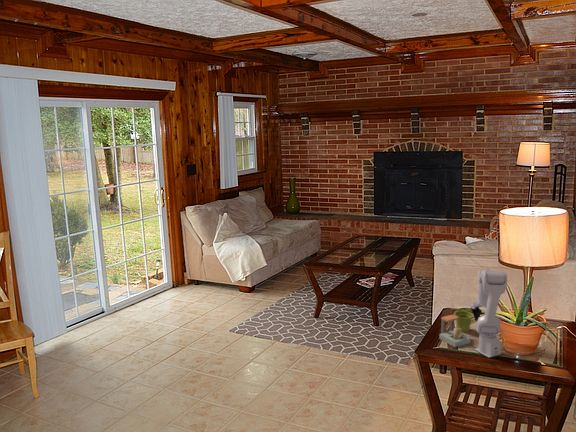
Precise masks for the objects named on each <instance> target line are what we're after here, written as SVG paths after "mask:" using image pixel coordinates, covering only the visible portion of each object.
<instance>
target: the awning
mask: <svg viewBox="0 0 576 432" xmlns="http://www.w3.org/2000/svg"><path fill="white" fill-rule="evenodd" d="M440 318H441V324H440V325H441V326H440V327H441V328H440V334H441V333H445V332H447V323H449V326H448V327H449V331H453V330H454V328H455V321H456V320H458V317H456V316H455V315H454V314H449V315H445V316H441V317H440ZM449 331H448V332H449Z"/></svg>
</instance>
